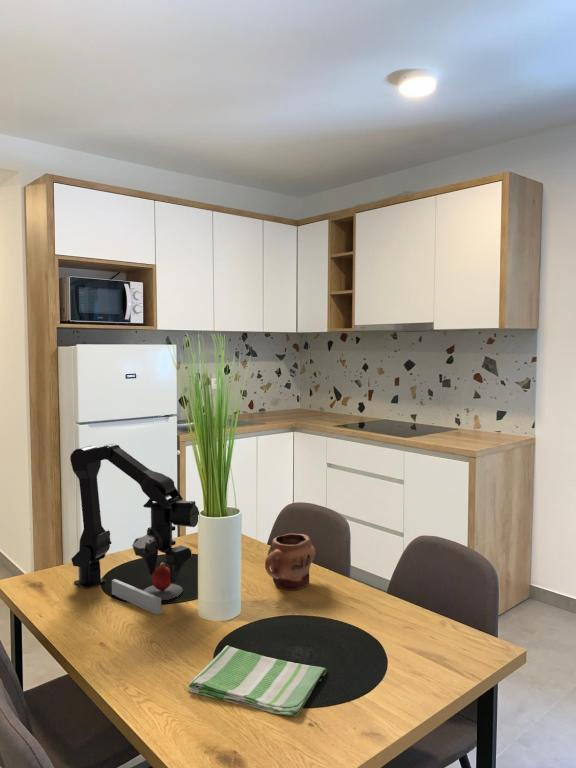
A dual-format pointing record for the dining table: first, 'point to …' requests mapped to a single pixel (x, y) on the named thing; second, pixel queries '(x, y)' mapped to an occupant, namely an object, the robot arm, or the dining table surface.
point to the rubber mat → (165, 591)
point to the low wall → (136, 596)
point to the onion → (161, 577)
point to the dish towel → (257, 681)
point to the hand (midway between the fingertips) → (162, 578)
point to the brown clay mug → (290, 560)
